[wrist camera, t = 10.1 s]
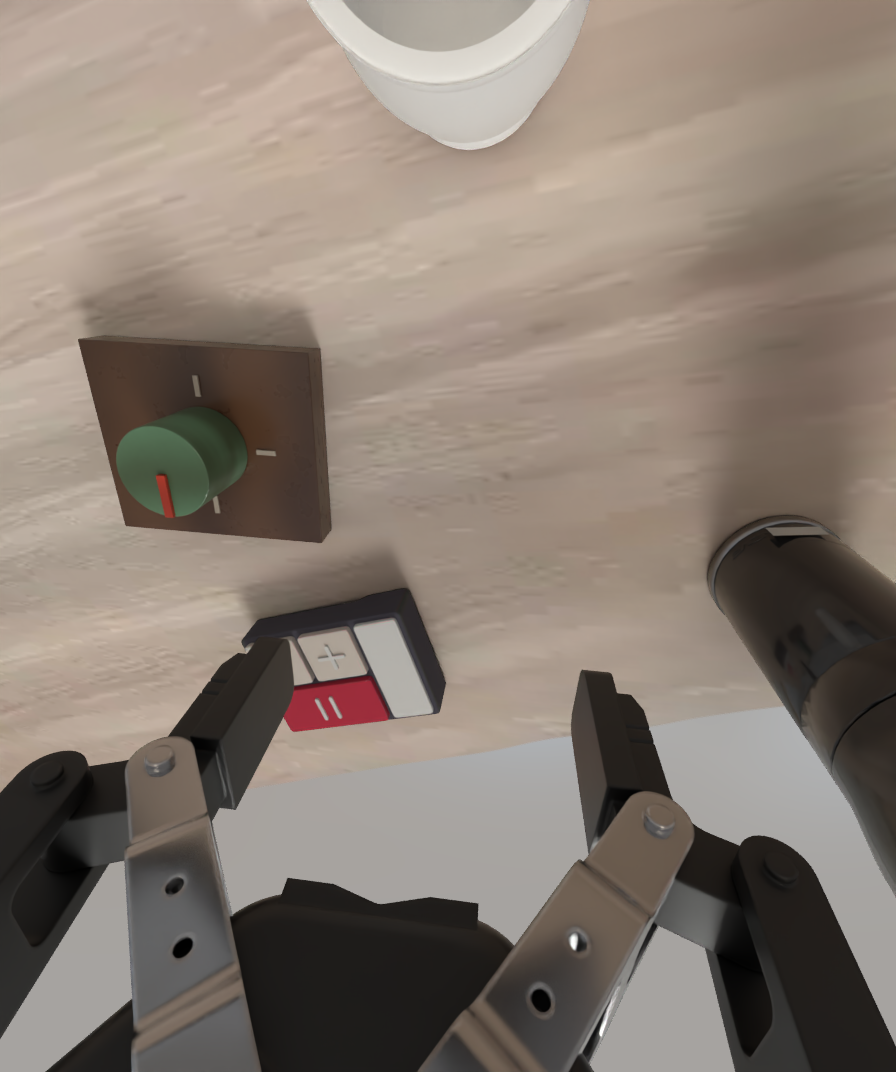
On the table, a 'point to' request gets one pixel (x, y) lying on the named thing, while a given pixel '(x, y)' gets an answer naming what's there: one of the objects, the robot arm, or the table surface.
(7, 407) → the table surface
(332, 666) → the calculator
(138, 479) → the knob
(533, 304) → the table surface
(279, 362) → the base
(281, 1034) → the robot arm
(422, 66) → the jar
